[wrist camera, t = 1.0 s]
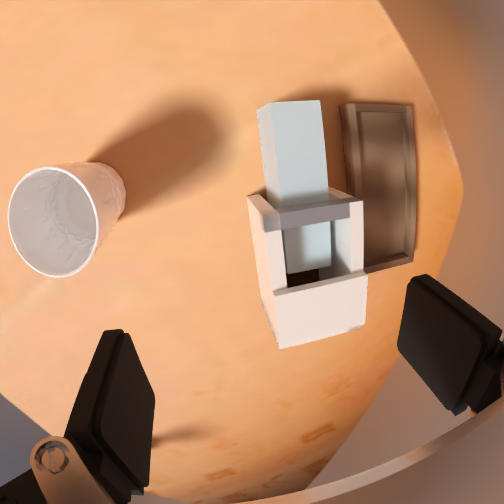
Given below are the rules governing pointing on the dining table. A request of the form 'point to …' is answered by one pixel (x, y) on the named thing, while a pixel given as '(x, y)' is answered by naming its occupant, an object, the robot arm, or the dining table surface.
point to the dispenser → (330, 278)
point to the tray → (382, 179)
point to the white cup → (64, 215)
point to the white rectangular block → (296, 176)
